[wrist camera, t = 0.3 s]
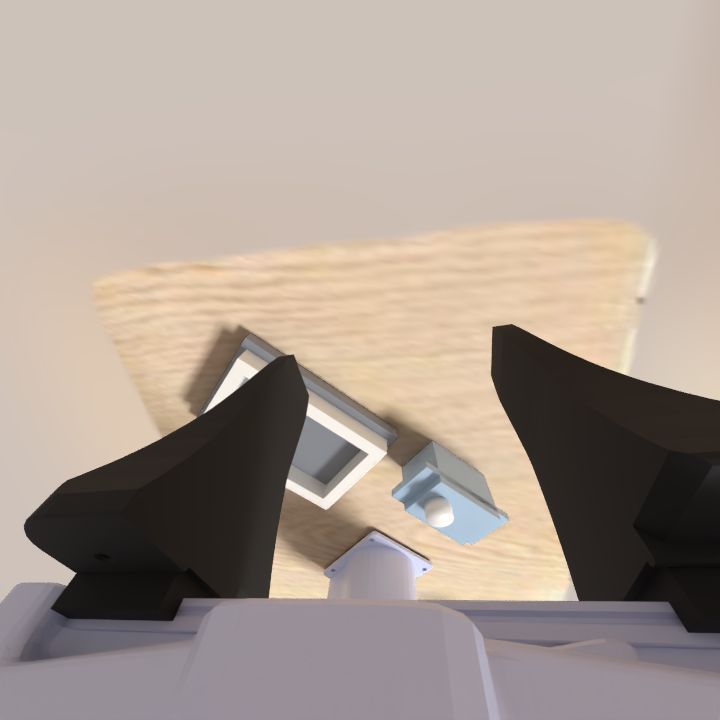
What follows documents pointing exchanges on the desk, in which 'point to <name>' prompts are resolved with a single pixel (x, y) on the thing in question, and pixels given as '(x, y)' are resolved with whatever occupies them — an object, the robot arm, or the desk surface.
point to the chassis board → (316, 429)
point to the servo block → (448, 495)
